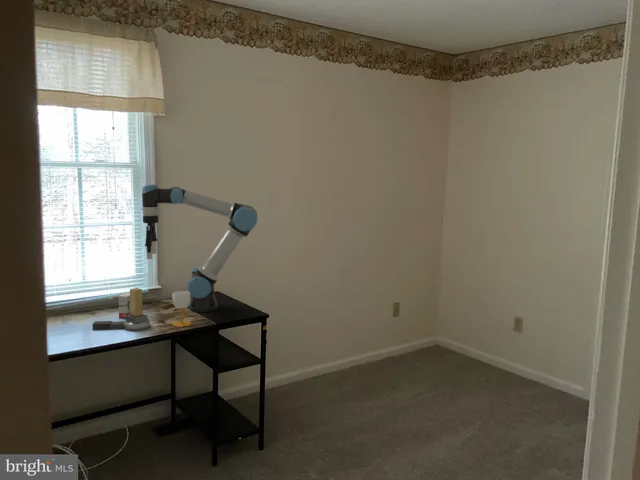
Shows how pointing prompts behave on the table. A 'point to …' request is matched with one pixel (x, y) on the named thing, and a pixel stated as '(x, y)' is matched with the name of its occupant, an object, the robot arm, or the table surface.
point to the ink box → (124, 305)
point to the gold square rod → (136, 302)
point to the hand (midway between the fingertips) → (151, 256)
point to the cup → (181, 305)
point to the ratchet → (124, 324)
